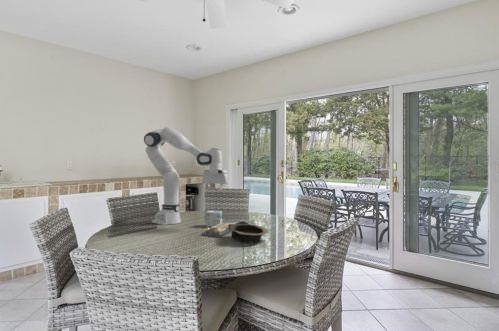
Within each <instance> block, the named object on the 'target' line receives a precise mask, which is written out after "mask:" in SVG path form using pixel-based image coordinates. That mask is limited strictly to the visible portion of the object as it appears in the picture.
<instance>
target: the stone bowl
mask: <svg viewBox="0 0 499 331" xmlns="http://www.w3.org/2000/svg"><path fill="white" fill-rule="evenodd" d="M229 224H230V225H229ZM229 224H227V227H229V228H230V229H231V230H232V232H231V233H230V235H231V239H236V240H237V241H238V242H239V243H242V244H243V243H246V244H247V243H248V244H249V243H258V242H259V241H260V240H261V238H262V236H263V235H266V234H268V233H269V230H268V229H267V228H265V227H263V226H261V225H257V224H250V223H249V222H245V221H239V222H236V223H229Z"/></svg>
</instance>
